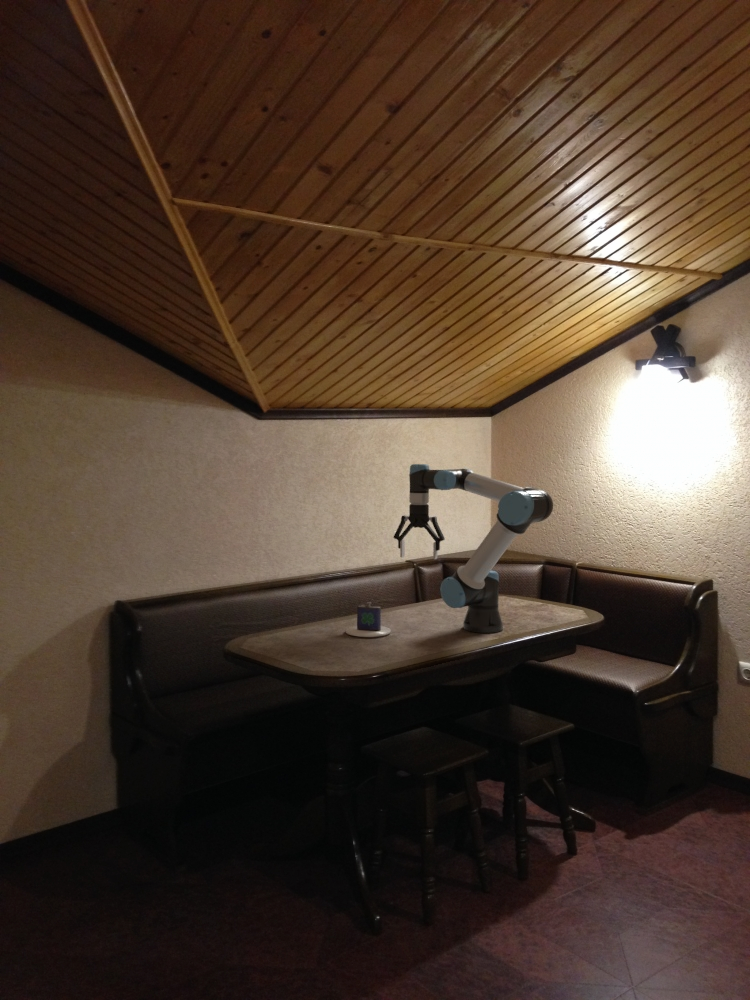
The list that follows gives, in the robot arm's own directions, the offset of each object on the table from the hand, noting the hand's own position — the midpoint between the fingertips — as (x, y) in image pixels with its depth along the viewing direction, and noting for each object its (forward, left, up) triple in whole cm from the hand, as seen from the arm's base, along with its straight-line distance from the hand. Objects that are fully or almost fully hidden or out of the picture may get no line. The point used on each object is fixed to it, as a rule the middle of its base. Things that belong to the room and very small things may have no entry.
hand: (418, 558), depth 322 cm
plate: (+13, +20, -27) cm, 36 cm away
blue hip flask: (+13, +20, -26) cm, 35 cm away
